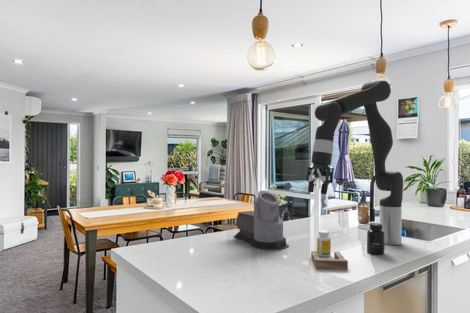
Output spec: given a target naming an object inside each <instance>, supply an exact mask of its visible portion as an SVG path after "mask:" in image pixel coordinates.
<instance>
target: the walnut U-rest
mask: <svg viewBox="0 0 470 313" xmlns="http://www.w3.org/2000/svg"><path fill="white" fill-rule="evenodd" d="M310 252H311V255H310V257H311V260H312V262H313V264H314V267H315V269H318V270H321V269H323V270H344V271H345V270H347V271H348V269H349V268H348V267H349V261H348V260H347V259H346V258H345V257H344V256H343V255H342V253H341V251H334V253H333V254H334V255H333V256H334V257H333V258H320V257H321V256H319V255H318V253H317V250H311V251H310Z"/></svg>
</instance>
